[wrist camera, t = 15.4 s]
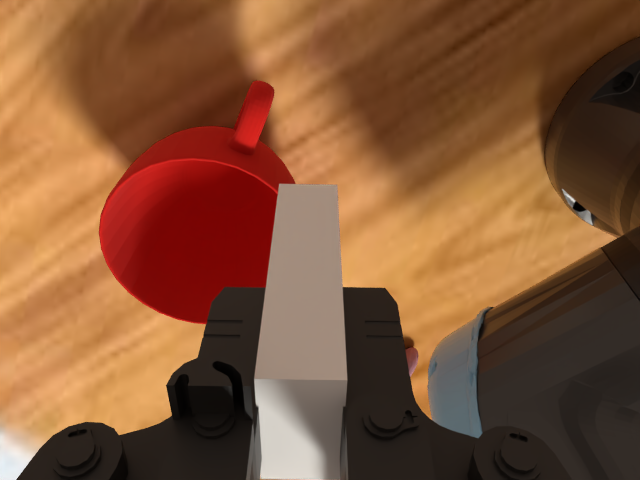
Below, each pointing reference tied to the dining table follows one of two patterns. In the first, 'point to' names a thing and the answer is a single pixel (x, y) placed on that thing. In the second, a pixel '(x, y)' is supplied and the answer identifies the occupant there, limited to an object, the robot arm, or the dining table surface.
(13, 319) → the dining table surface
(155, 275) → the ceramic cup
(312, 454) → the robot arm
